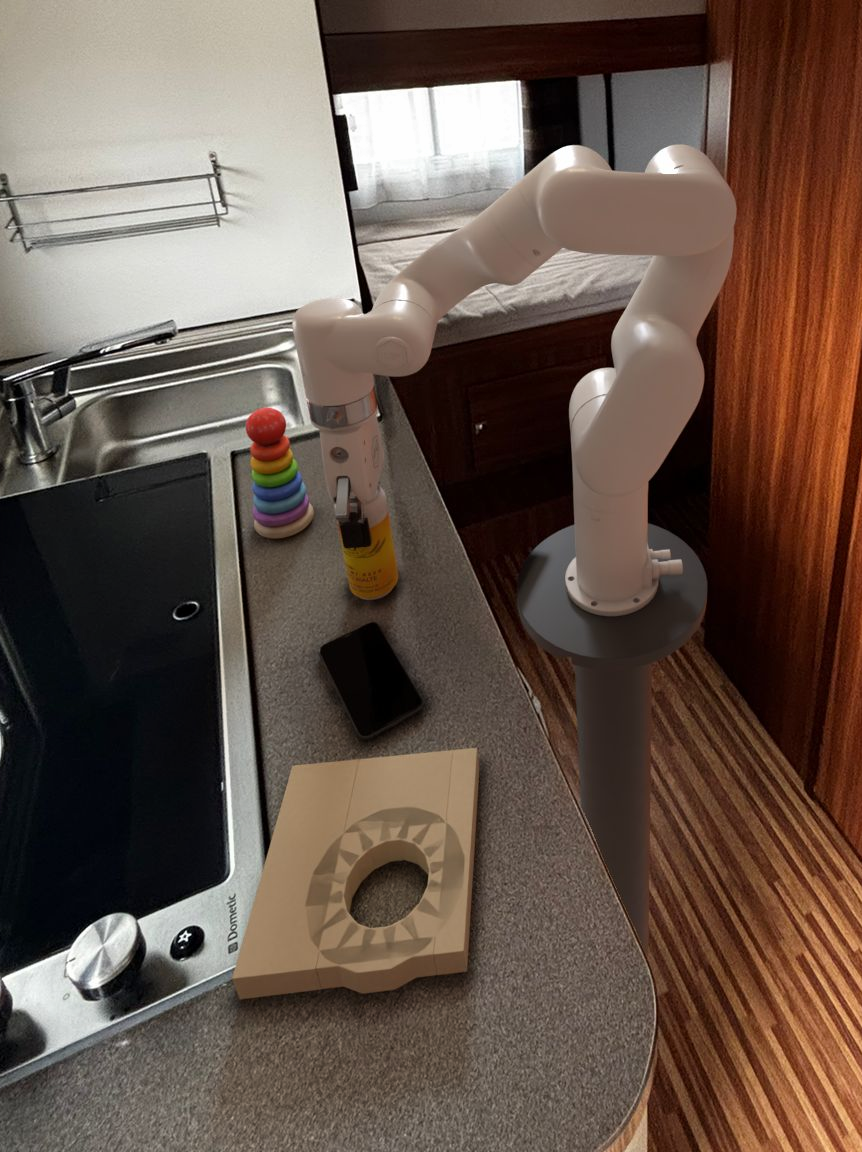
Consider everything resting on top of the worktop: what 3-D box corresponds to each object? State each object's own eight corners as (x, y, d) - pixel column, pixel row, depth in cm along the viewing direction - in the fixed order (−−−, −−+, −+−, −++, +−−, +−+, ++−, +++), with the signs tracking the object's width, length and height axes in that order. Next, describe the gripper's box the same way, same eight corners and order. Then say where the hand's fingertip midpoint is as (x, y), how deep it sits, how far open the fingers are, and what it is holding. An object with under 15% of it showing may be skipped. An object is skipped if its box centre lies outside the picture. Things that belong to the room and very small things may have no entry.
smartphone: (427, 709, 89) (377, 623, 100) (427, 703, 89) (376, 618, 100) (361, 746, 85) (316, 652, 96) (360, 740, 85) (315, 647, 96)
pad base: (479, 767, 83) (477, 747, 82) (466, 981, 66) (463, 960, 65) (297, 785, 81) (292, 765, 80) (236, 1009, 64) (228, 988, 63)
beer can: (341, 597, 104) (322, 503, 98) (367, 565, 109) (350, 473, 103) (383, 607, 103) (367, 512, 96) (407, 573, 108) (393, 481, 101)
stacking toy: (312, 536, 115) (288, 424, 107) (251, 546, 113) (222, 432, 105) (317, 501, 122) (295, 393, 114) (260, 510, 120) (233, 401, 112)
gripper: (361, 444, 87) (383, 571, 94) (387, 364, 102) (404, 479, 110) (289, 448, 86) (316, 577, 93) (326, 368, 102) (347, 483, 109)
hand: (364, 523), depth 102 cm, fingers open, 7 cm apart
